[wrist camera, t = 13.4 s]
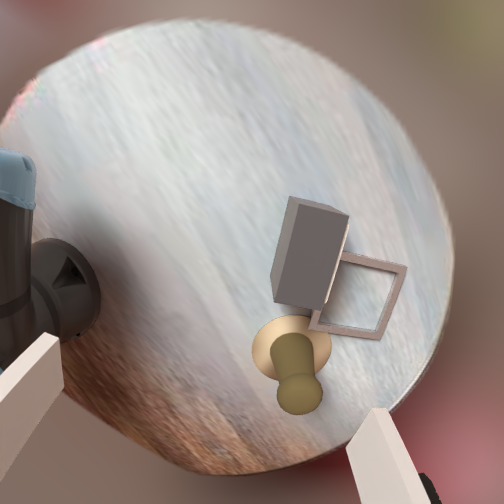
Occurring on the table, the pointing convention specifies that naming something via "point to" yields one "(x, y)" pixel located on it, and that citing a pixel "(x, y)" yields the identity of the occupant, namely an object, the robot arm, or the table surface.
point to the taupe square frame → (387, 308)
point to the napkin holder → (308, 253)
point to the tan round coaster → (285, 326)
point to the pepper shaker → (295, 374)
